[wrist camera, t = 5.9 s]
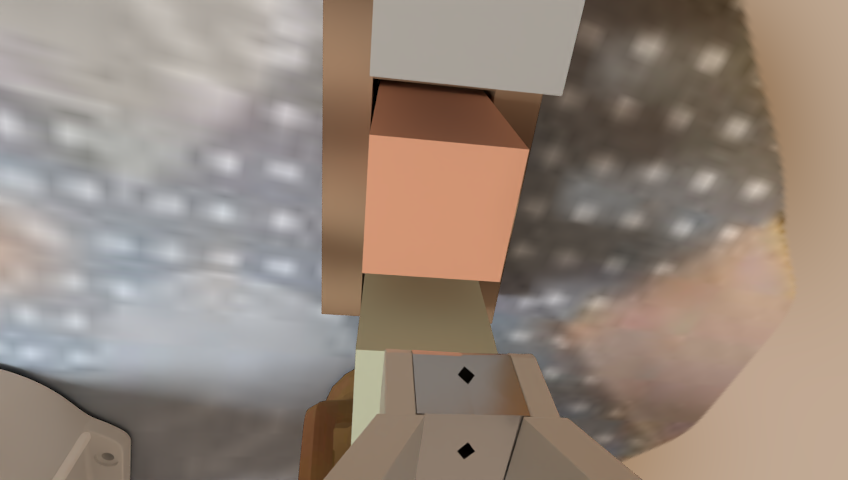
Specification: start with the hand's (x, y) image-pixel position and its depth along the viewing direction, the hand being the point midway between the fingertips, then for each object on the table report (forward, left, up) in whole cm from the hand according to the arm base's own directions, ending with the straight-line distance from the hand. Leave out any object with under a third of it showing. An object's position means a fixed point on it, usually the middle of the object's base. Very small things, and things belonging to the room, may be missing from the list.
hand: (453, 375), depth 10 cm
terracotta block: (0, 0, -17) cm, 17 cm away
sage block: (-7, 0, -15) cm, 17 cm away
